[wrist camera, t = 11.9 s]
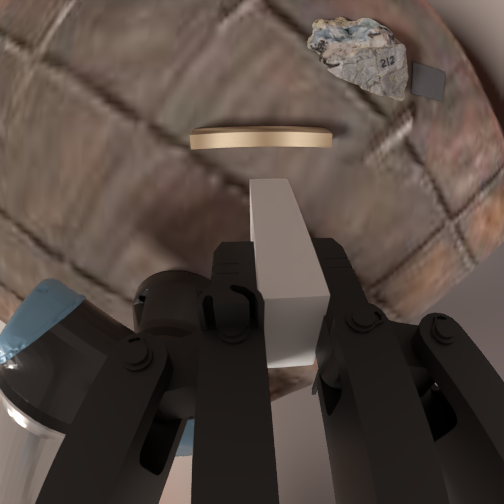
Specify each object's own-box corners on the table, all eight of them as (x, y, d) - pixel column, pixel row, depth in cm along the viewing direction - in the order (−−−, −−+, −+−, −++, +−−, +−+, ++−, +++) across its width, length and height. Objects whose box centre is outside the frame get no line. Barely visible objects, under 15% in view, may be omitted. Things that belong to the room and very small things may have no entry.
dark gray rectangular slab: (410, 93, 26) (411, 93, 26) (412, 62, 24) (413, 62, 24) (441, 101, 26) (442, 101, 26) (444, 71, 24) (445, 72, 24)
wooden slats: (195, 142, 30) (191, 149, 27) (188, -28, 18) (183, -36, 15) (323, 140, 30) (331, 147, 27) (326, -26, 18) (334, -33, 16)
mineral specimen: (344, 35, 26) (315, 98, 29) (317, -7, 20) (281, 62, 22) (420, 53, 22) (395, 124, 24) (409, 5, 15) (382, 83, 18)
